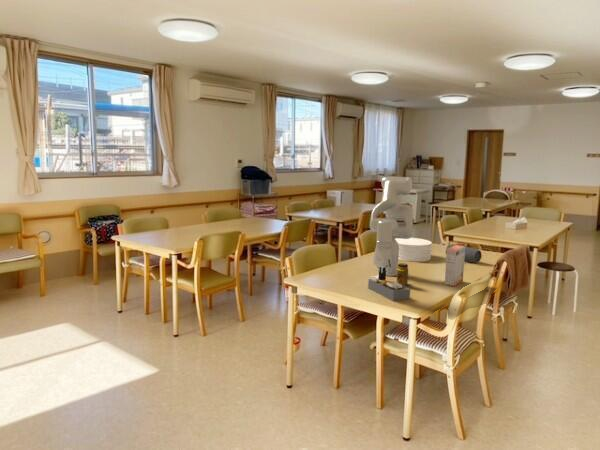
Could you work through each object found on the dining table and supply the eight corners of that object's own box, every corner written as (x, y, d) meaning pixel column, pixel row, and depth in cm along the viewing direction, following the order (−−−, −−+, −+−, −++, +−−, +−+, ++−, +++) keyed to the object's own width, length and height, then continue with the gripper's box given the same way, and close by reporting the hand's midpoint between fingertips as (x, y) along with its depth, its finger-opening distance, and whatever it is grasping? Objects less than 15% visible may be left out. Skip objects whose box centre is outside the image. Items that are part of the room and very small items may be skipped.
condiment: (393, 285, 253) (394, 264, 251) (400, 282, 259) (401, 261, 257) (405, 287, 248) (406, 266, 246) (412, 284, 254) (413, 263, 253)
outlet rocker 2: (388, 283, 239) (389, 279, 239) (393, 285, 235) (394, 281, 235) (378, 282, 236) (379, 278, 236) (383, 285, 232) (384, 280, 232)
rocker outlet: (396, 287, 233) (397, 282, 233) (401, 289, 229) (402, 285, 229) (386, 286, 230) (387, 281, 230) (391, 288, 226) (392, 284, 226)
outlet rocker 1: (381, 278, 245) (381, 273, 245) (386, 280, 241) (385, 275, 241) (371, 281, 243) (371, 276, 243) (376, 283, 239) (375, 279, 239)
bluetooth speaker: (444, 258, 322) (445, 244, 320) (452, 256, 327) (453, 243, 326) (473, 264, 304) (474, 250, 302) (481, 263, 309) (482, 248, 308)
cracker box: (453, 279, 266) (455, 244, 263) (463, 281, 263) (466, 246, 259) (443, 284, 256) (446, 248, 252) (454, 286, 252) (457, 249, 249)
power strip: (383, 286, 250) (384, 277, 249) (409, 298, 229) (410, 289, 228) (368, 288, 246) (368, 278, 245) (393, 301, 225) (393, 291, 224)
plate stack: (435, 256, 328) (436, 240, 327) (423, 263, 305) (424, 246, 303) (398, 251, 343) (399, 236, 341) (384, 257, 320) (385, 241, 318)
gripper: (369, 242, 237) (368, 276, 239) (386, 247, 223) (384, 284, 226) (381, 241, 240) (380, 275, 242) (398, 247, 226) (396, 282, 229)
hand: (382, 279), depth 234 cm, fingers closed
